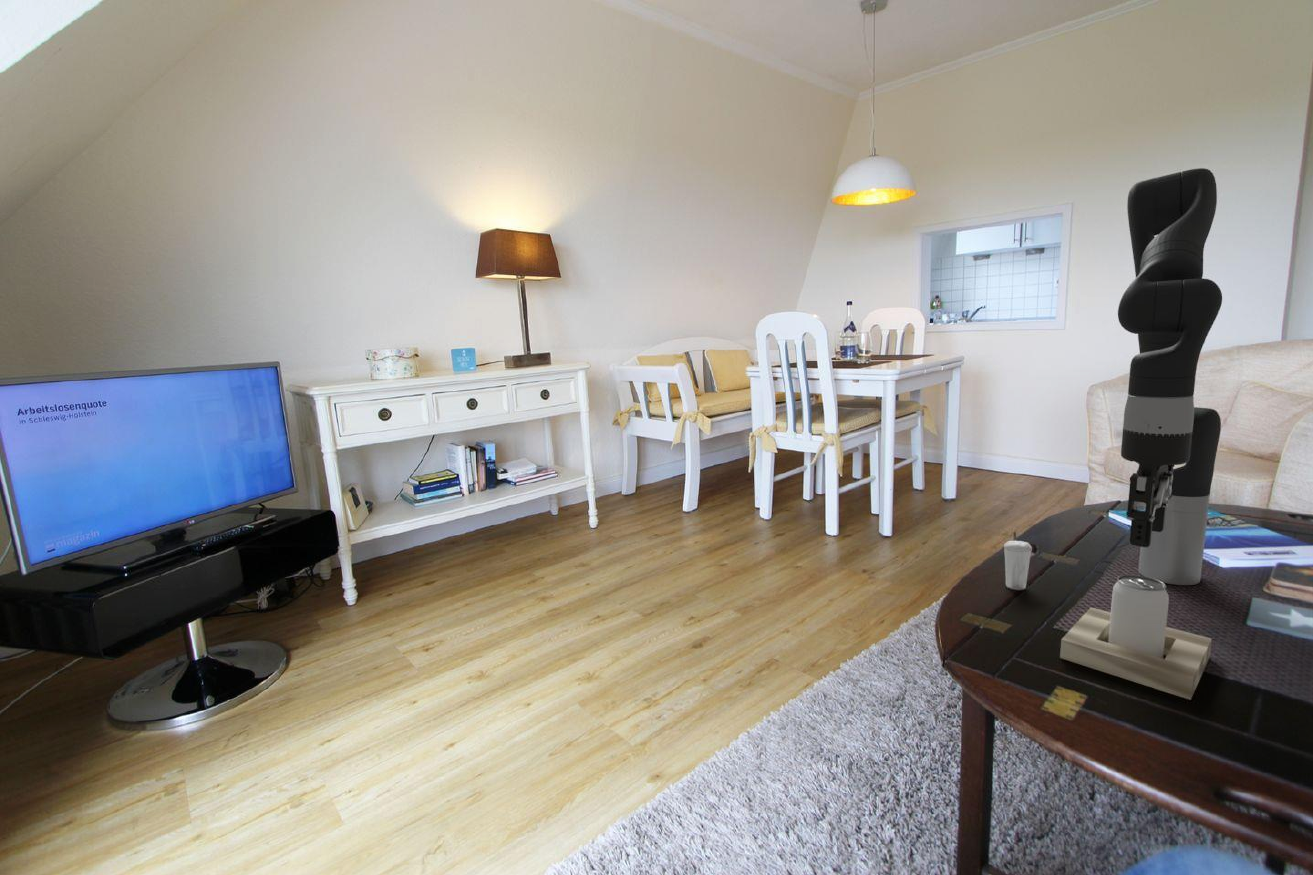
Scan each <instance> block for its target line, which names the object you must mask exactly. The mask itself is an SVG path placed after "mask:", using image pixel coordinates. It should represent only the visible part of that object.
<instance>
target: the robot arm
mask: <svg viewBox="0 0 1313 875" xmlns="http://www.w3.org/2000/svg"><path fill="white" fill-rule="evenodd" d="M1217 203H1218V190H1217V182H1216V177H1215V176H1214V173H1213V172H1212V171H1211V170H1210V169H1209V168H1203V167H1201V168H1191V169H1188V170H1187V169H1186V170H1183V171H1179V172H1175V173H1170V174H1166V175H1161V176H1158V177H1153V178H1150V179H1149V178H1147V179H1146V180H1145V179H1144V180H1141V181H1138V182H1136V183H1134V184H1133V185H1132V186H1131V187H1130V189H1129V192H1128V196H1127V206H1126V207H1127V220H1128V227H1129V228H1128V229H1129V235H1130V241H1131V249H1132V256H1133V257H1132V258H1133V264H1134V272H1135V279H1134V280H1133V281H1132V282H1131V283H1130V284H1129V286H1127V288H1126V290H1125V291H1124V293H1123V294H1122V296H1121V299H1120V301H1119V304H1118V308H1117V318H1118V323H1119V324H1120V326H1121V327H1122V328H1123V329H1124V330H1126V331H1128V332H1129V333H1131V334H1135V335H1137V339H1138V347H1139V348H1138V349H1139V353H1138V354H1136V355H1134V357H1132V359H1131V362H1130V365H1129V378H1128V379H1129V380H1128V391H1127V394H1128V395H1127V400H1126V403H1125V406H1124V412H1123V422H1122V423H1123V424H1122V438H1121V447H1120V448H1121V449H1120V450H1121V451H1120V456H1121V457H1122V459H1124V460H1125V461H1129V462H1135V463H1136V464H1138V467H1137V468H1138V469H1137V470H1136V473H1135V472H1133V473H1132V474H1131V476H1130V477H1129V490H1128V491H1129V492H1128V502H1127V510H1126V513H1125V514H1126V518H1129V519H1130V520H1131V523H1130V533H1129V534H1130V535H1129V544H1130V545H1132V546H1134V547H1140V549H1139V550H1140V551H1139V560H1138V569H1137V571H1138V573H1139V574H1140V576H1145V577H1150V578H1153V579H1156V580H1159V581H1161V582H1163V583H1164V584H1169V585H1176V586H1193V585H1197V584H1199V583H1200V582H1201V576H1202V567H1203V559H1204V550H1205V543H1206V542H1205V541H1206V533H1207V525H1208V524H1207V523H1208V514H1209V507H1210V506H1209V504H1210V503H1209V502H1210V496H1211V489H1212V488H1211V487H1212V482H1213V477H1214V472H1215V471H1214V470H1215V464H1216V463H1215V462H1216V458H1217V452H1218V447H1219V443H1220V438H1221V437H1220V436H1221V432H1222V430H1221V429H1222V422H1221V421H1222V420H1221V416H1220V414H1219V413H1218V411H1217V410H1216V409H1215V408H1214V409H1213V408H1207V407H1199V406H1198V407H1195V405H1194V403H1195V402H1194V401H1195V400H1194V399H1195V398H1194V395H1195V386H1196V377H1197V376H1196V375H1197V374H1196V373H1197V368H1198V362H1199V358H1200V354H1201V353H1202V352H1201V351H1202V349H1203V346H1204V344H1205V343H1206V340H1207V337H1208V335H1209V333H1210V331H1211V329H1212V326H1213V324H1214V323H1215V321H1216V318H1217V317H1218V314H1219V313H1220V311H1221V310H1220V309H1221V307H1222V303H1223V294H1222V293H1223V292H1222V290H1221V288H1220V286H1219V285H1218V284H1217V283H1216V282H1215V281H1214V280H1212V279H1209V278H1203V276H1204V252H1205V251H1204V249H1205V244H1206V242H1207V239H1208V237H1209V234H1210V231H1211V228H1212V225H1213V222H1214V219H1215V216H1216V210H1217ZM1177 465H1179V467H1175V466H1177ZM1180 465H1182V466H1180ZM1174 467H1175V468H1174ZM1140 506H1142V507H1144V508H1143V510H1139V509H1138V507H1140Z"/></svg>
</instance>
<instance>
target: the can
mask: <svg viewBox="0 0 1313 875" xmlns="http://www.w3.org/2000/svg"><path fill="white" fill-rule="evenodd" d="M1166 589H1167V585H1166V583H1163V582H1161V581H1159V580H1156V579H1153V578H1150V577H1145V576H1143V575H1141V574H1140V575H1137V574H1122V575H1118V576H1117V581H1116V582H1115V584H1113V588H1112V596H1111V604H1110V606H1111V607H1110V612H1111V615H1110V627H1109V638H1108V641H1107V643H1110V644H1114V645H1117V646H1121V647H1124V648H1127V649H1131V650H1134V651H1138V652H1141V653H1145V654H1148V655H1151V656H1155V657H1158V658H1162V659H1164V654H1163V652H1164V642H1165V633H1166V627H1167V623H1168V613H1169V612H1168V611H1169V601H1170V597H1169V594H1168V592H1167V590H1166Z"/></svg>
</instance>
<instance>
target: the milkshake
mask: <svg viewBox="0 0 1313 875" xmlns="http://www.w3.org/2000/svg"><path fill="white" fill-rule="evenodd" d="M1012 533H1013V534H1012V536H1013V540H1008V541H1006V542H1005V543H1004V544H1003V549H1004V550H1003V552H1004V569H1005V574H1004V575H1005V586H1006V588H1008V589H1010V590H1015V591H1024V590H1025V589H1026V588H1027V582H1028V575H1029V569H1030V568H1029V567H1030V561H1031V556H1032V551H1033V547H1032V546H1031V544H1030V543H1029V542H1027V541H1022V540H1017V532H1016V531H1013V532H1012Z"/></svg>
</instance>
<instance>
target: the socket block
mask: <svg viewBox="0 0 1313 875" xmlns="http://www.w3.org/2000/svg"><path fill="white" fill-rule="evenodd" d="M1110 615H1111V611H1106V610H1102V609H1098V608H1096V607H1095V608H1094V607H1089V609H1087V610H1086V612H1085V613H1084V614H1083V615H1081V617H1080V618H1079V619H1078V621H1077V622H1076V623H1075V624H1074V625H1073V626H1072V627H1071V628H1070V629H1069V631H1068V632H1067V633H1066V634H1065V635H1064V636H1063V637H1062V638H1061V640H1060V651H1059V652H1060V653H1059V658H1060V659H1062V660H1065V661H1069V662H1071V663H1074V664H1078V665H1081V666H1084V667H1086V668H1090V669H1093V670H1097V671H1100V672H1102V673H1106V674H1109V675H1111V676H1115V677H1119V678H1122V679H1124V680H1127V681H1131V682H1134V683H1136V684H1140V685H1143V686H1145V687H1150V688H1153V689H1155V690H1157V691H1161V692H1165V693H1168V694H1171V695H1173V696H1177V697H1180V698H1184V699H1186V700H1190V701H1191V700H1192V698H1193V695H1194V693H1195V691H1196V689H1197V687H1198V684H1199V682H1200V681H1201V678H1202V675H1203V673H1204V672H1205V669H1206V666H1207V664H1208V662H1209V660H1210V656H1211V648H1212V642H1213V641H1212V638H1210V637H1206V636H1203V635H1199V634H1195V633H1192V632H1188V631H1184V630H1180V629H1175V628H1173V627H1169V626H1166V633H1165V642H1164V652H1163V656H1166V657H1165V658H1163V659H1162V658H1158V657H1155V656H1151V655H1148V654H1145V653H1141V652H1138V651H1134V650H1131V649H1127V648H1124V647H1121V646H1117V645H1114V644H1110V643H1108V638H1109V627H1110Z"/></svg>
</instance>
